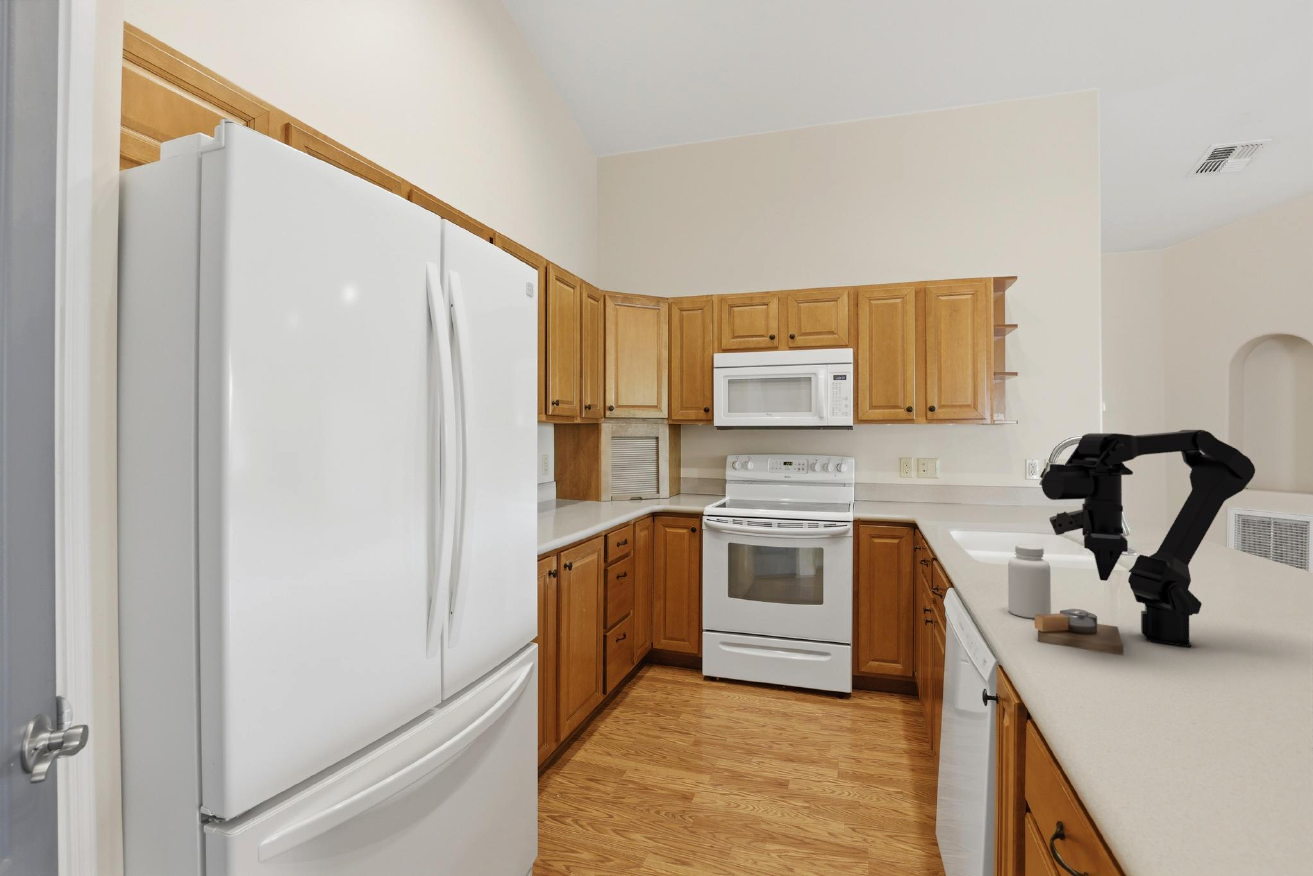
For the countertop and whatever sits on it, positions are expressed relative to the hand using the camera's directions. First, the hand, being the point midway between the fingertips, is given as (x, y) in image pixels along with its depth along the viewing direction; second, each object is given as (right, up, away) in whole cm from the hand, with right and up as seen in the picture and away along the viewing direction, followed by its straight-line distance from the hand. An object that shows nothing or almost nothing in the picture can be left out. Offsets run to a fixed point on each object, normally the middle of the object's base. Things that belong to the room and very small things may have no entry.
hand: (1103, 580), depth 113 cm
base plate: (-3, -12, +3) cm, 13 cm away
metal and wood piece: (-6, -10, +2) cm, 12 cm away
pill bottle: (-3, -12, +18) cm, 22 cm away
